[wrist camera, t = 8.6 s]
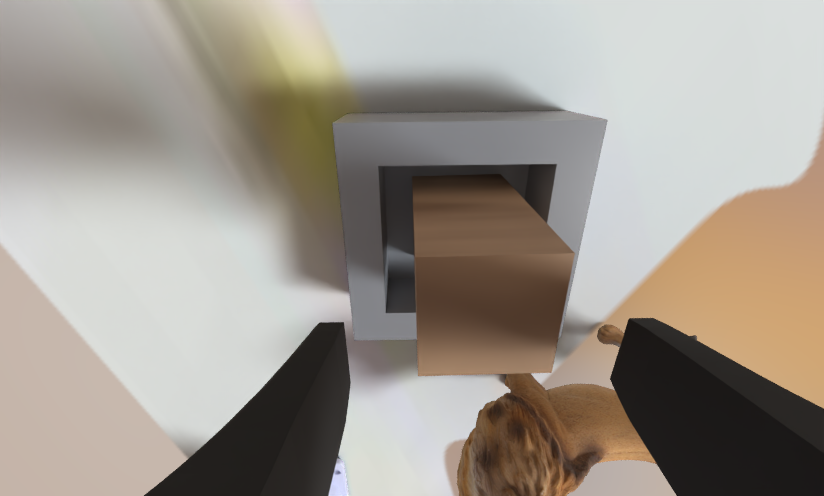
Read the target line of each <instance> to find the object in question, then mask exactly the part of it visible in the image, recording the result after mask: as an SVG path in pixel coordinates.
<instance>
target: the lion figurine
mask: <svg viewBox="0 0 824 496" xmlns="http://www.w3.org/2000/svg"><path fill="white" fill-rule="evenodd" d="M623 336H624V333H623V332H622V331H621V330H620V329H618V328H617V327H615V326H613V325H604V326H602V327H601V328H600V329H599V330H598V335H597V337H598V339H599V341H600V342H602V343H603V344H613V345H616V346H618V347H620V346H621V342H622V339H623ZM689 337H691V338H693V339H695V340H697V336H695V335H694V336H689ZM505 385H506V386H507V387H508V388H509V389H510V390H511V392H510V393H506V394H504V396H501V397H500V398H498V399H497V400H496V401H491V402H490V403H487V404H485V406H484V408H483V409H482V410H480V411H479V413H478V418H477V422H476V428H474V429H473V430H472V432H471V433H470V435H469V437H468V439H467V440H466V442H465V444H464V447H463V449H462V455H461V459H460V463H459V467H458V471H457V479H458V480H457V485H458V489H459V496H567V494H569V493H570V492H573V491H575V490H576V489H577V488H578V486H579V485H580V484H581V483H582V482H583V480H584V477H585V476H587V474H588V472H589V470H590V468H591V467H592V466H593V465H594V464H596V463H600V462H607V461H615V460H640V461H647V462H651V463H655V464H656V462H655V460H654V459H653V457H652V456H651V454H650V453H649V451H648V449H647V448H646V446H645V444H644V443H643V441H642V440H641V438H640V436H639V435H638V433H637V432H636V430H635V428H634V427H633V425H632V423H631V422H630V420H629V418H628V416H627V414H626V412H625V410H624V408H623V406H622V404H621V402H620V400H619V398H618V396H617V393H616V391H615V390H612V389H609V388H605V387H602V386H599V385H594V384H570V385H564V386H560V387H556V388H553V389H549V390H545V388H544V387H543V386H542V385H540V384H539V383H538V382H537V381H536V380H535V379H534V378H533V376H532V375H531V373H516V374H507V376H506V379H505Z"/></svg>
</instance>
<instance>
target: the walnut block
mask: <svg viewBox="0 0 824 496" xmlns="http://www.w3.org/2000/svg"><path fill="white" fill-rule="evenodd" d="M412 195H413V236H414V270H415V300H416V329H417V358H418V376H439V375H477V374H516V373H552V368H553V363H554V358H555V353H556V348H557V342H558V337H559V332H560V327H561V322H562V317H563V312H564V307H565V301H566V296H567V291H568V286H569V281H570V276H571V271H572V266H573V260H574V255H575V253H574V252H573V251H572V250H571V249H570V247H569V246H568V245H567V244H566V243H565V242H564V241H563V240H562V239H561V238H560V237H559V236H558V235H557V234H556V233H555V232H554V230H553V229H552V228H551V227H550V226H549V225H548V224H547V223H546V222H545V221H544V220H543V219H542V218H541V217H540V216H539V214H538V213H537V212H536V211H535V210H534V209H533V208H532V207H531V206H530V205H529V204H528V203H527V202H526V201H525V200H524V199H523V197H522V196H521V195H520V194H519V193H518V192H517V191H516V190H515V189H514V188H513V187H512V186H511V185H510V184H509V183H508V181H507V180H506V179H505V178H504V177H503V176H502V175H501V174H481V175H443V176H412Z"/></svg>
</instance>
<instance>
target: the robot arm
mask: <svg viewBox="0 0 824 496" xmlns="http://www.w3.org/2000/svg"><path fill="white" fill-rule="evenodd" d="M610 380H611V382H612V384H613V387H614V389H615V391H616V393H617V396H618V398H619V400H620V402H621V404H622V406H623V408H624V410H625V412H626V414H627V416H628V418H629V420H630V422H631V423H632V425H633V427H634V428H635V430H636V432H637V433H638V435H639V436H640V438H641V440H642V441H643V443H644V444H645V446H646V448H647V449H648V451H649V453H650V454H651V456H652V457H653V459H654V460H655V462H656V464H657V465H658V467H659V468H660V470H661V471H662V473H663V475H664V476H665V478H666V479H667V481H668V483H669V484H670V486H671V487H672V489H673V490H674V492H675V493H676V495H677V496H824V409H823V408H821V407H819V406H817V405H815V404H813V403H811V402H810V401H808V400H806V399H804V398H802V397H800V396H798V395H796V394H794V393H792V392H790V391H788V390H786V389H784V388H782V387H780V386H779V385H777V384H775V383H773V382H771V381H769V380H767V379H766V378H764V377H762V376H760V375H758V374H756V373H755V372H753V371H751V370H749V369H747V368H746V367H743V366H742V365H740V364H738V363H736V362H735V361H733V360H731V359H729V358H727V357H726V356H724V355H722V354H720V353H718V352H717V351H715V350H713V349H711V348H709V347H708V346H706V345H704V344H702V343H700V342H699V341H697V340H695V339H693V338H691V337H689V336H688V335H686V334H684V333H682V332H680V331H678V330H676V329H674V328H673V327H671V326H669V325H667V324H665V323H663V322H660V321H658V320H656V319H654V318H630V319H629V320H628V323H627V326H626V330H625V333H624V336H623V339H622V342H621V346H620V349H619V352H618V355H617V358H616V361H615V365H614V368H613V371H612V374H611V378H610ZM350 383H351V382H350V373H349V364H348V356H347V347H346V338H345V329H344V322H330V323H319V324H318V325H317V326H316V327H315V328H314V329H313V330H312V331H311V333H310V334H309V335H308V336H307V337H306V339H305V340H304V341H303V342H302V343H301V345H300V346H299V347H298V348H297V349H296V351H295V352H294V353H293V354H292V355H291V356H290V358H289V359H288V360H287V361H286V362H285V363H284V364H283V366H282V367H281V368H280V369H279V370H278V371H277V372H276V373H275V374H274V376H273V377H272V378H271V379H270V380H269V381H268V382H267V383H266V384H265V385H264V387H263V388H262V389H261V390H260V391H259V392H258V393H257V394H256V395H255V396H254V397H253V398H252V399H251V400H250V401H249V402H248V403H247V404H246V405H245V406H244V407H243V408H242V409H241V410H240V411H239V412H238V413H237V414H236V415H235V416H234V417H233V418H232V419H231V420H230V421H229V422H228V423H227V424H226V425H225V426H224V427H223V428H222V429H221V430H220V431H219V432H218V433H217V434H216V435H214V436H213V437H212V438H211V439H210V440H209V441H208V442H207V443H206V444H205V445H204V446H202V447H201V448H200V449H199V450H198V451H197V452H196V453H194V454H193V455H192V456H191V457H190V458H189V459H188V460H187V461H186V462H184V463H183V464H182V465H181V466H180V467H179V468H177V469H176V470H175V471H174V472H173V473H171V474H170V475H169V476H168V477H167V478H165V479H164V480H163V481H162V482H160V483H159V484H158V485H157V486H156V487H154V488H153V489H152V490H150V491H149V492H148V493H147V494H145V495H144V496H349V492H348V485H347V479H346V472H345V465H344V461H342V460H341V459H337V457H338V453H339V449H340V444H341V440H342V436H343V431H344V427H345V423H346V415H347V408H348V400H349V391H350Z"/></svg>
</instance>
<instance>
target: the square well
mask: <svg viewBox="0 0 824 496" xmlns="http://www.w3.org/2000/svg"><path fill="white" fill-rule="evenodd" d="M332 125H333V135H334V145H335V154H336V164H337V174H338V184H339V194H340V204H341V214H342V223H343V233H344V243H345V253H346V263H347V273H348V283H349V292H350V302H351V312H352V322H353V332H354V340H417V329H416V300H415V270H414V236H413V195H412V176H443V175H481V174H501V175H502V176H503V177H504V178H505V179H506V180H507V181H508V183H509V184H510V185H511V186H512V187H513V188H514V189H515V190H516V191H517V192H518V193H519V194H520V195H521V196H522V197H523V199H524V200H525V201H526V202H527V203H528V204H529V205H530V206H531V207H532V208H533V209H534V210H535V211H536V212H537V213H538V214H539V216H540V217H541V218H542V219H543V220H544V221H545V222H546V223H547V224H548V225H549V226H550V227H551V228H552V229H553V230H554V232H555V233H556V234H557V235H558V236H559V237H560V238H561V239H562V240H563V241H564V242H565V243H566V244H567V245H568V246H569V247H570V249H571V250H572V251H573V252H574V253H575V255H574V260H573V266H572V271H571V276H570V281H569V286H568V291H567V296H566V301H565V307H564V312H563V317H562V322H561V327H560V332H559V337H561V333H562V328H563V324H564V319H565V314H566V310H567V305H568V301H569V296H570V291H571V287H572V282H573V277H574V273H575V268H576V264H577V259H578V254H579V250H580V245H581V241H582V236H583V231H584V227H585V222H586V217H587V213H588V208H589V204H590V199H591V194H592V190H593V185H594V180H595V176H596V171H597V167H598V162H599V157H600V153H601V148H602V143H603V139H604V134H605V130H606V125H607V120H606V119H602V118H597V117H593V116H588V115H584V114H579V113H575V112H570V111H505V112H417V113H347V114H346V115H344V116H343V117H341V118H339V119H338V120H336V121H335V122H333V123H332Z"/></svg>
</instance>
